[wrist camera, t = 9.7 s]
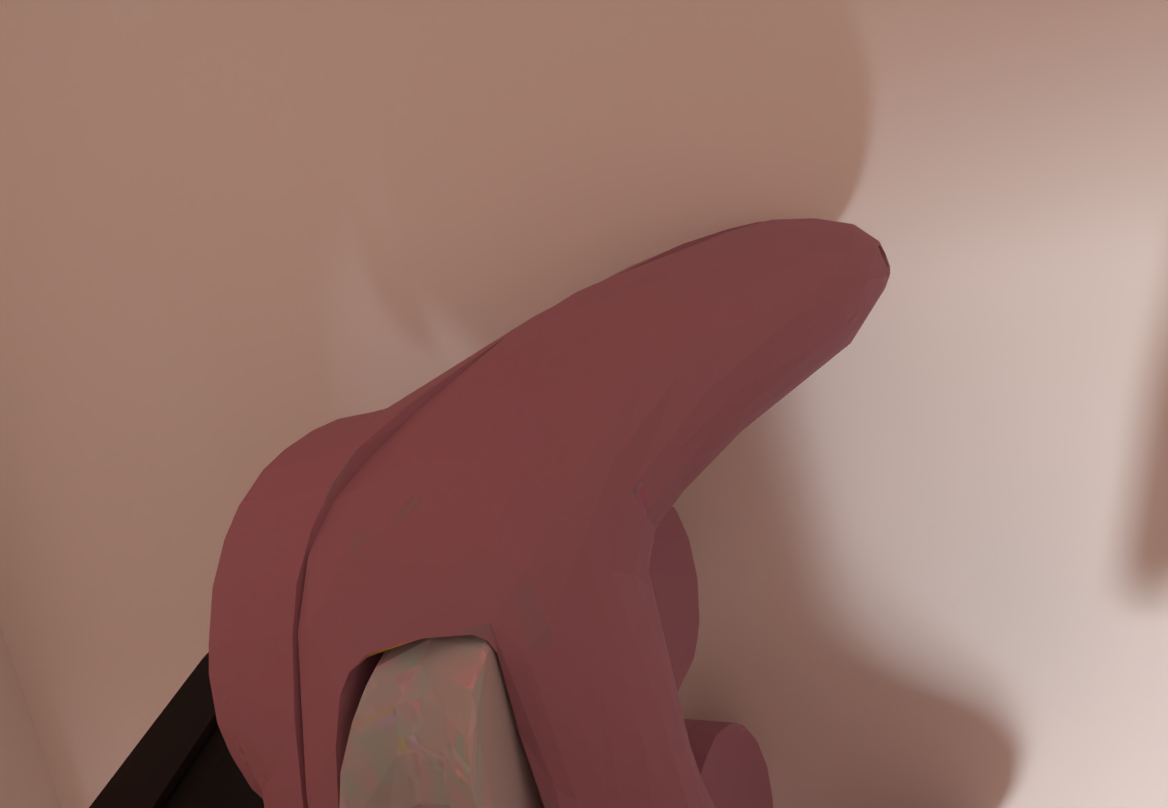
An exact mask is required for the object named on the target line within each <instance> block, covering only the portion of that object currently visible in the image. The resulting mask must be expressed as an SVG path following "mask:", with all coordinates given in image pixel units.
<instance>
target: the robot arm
mask: <svg viewBox="0 0 1168 808" xmlns="http://www.w3.org/2000/svg"><path fill="white" fill-rule="evenodd" d="M89 808H264V802H263V799H262V798H261V797H260V796H259V795H258V794H257V793H256V792H254V791H253V790H252V788H251V787H250V785H249V784H248V782H247V780H246V779H245V777H244V775H243V774H242V772H241V771H240V769H239V767H238V766H237V764H236V763H235V761H234V759H233V758H232V756H231V754H230V752H229V750H228V747H227V745H226V743H225V740H224V738H223V736H222V733H221V731H220V729H219V726H218V724H217V718H216V713H215V707H214V701H213V696H212V690H211V684H210V678H209V652H208V653H207V654H206V655H205V656H204V657H203V659H202V660H201V661H200V663H199V664H198V665H197V666H196V668H195V669H194V670H193V672H192V673H191V674H190V676H189V677H188V678H187V680H186V681H185V682H184V684H183V685H182V686H181V687H180V689H179V690H178V691H177V693H176V694H175V695H174V697H173V698H172V699H171V701H170V702H169V703H168V705H167V706H166V707H165V708H164V710H163V711H162V712H161V714H160V715H159V716H158V718H157V719H156V720H155V722H154V723H153V724H152V726H151V727H150V728H149V729H148V731H147V732H146V733H145V735H144V736H143V737H142V739H141V740H140V741H139V743H138V744H137V745H136V747H135V748H134V749H133V750H132V752H131V753H130V754H129V756H128V757H127V758H126V760H125V761H124V762H123V764H122V765H121V766H120V768H119V769H118V770H117V771H116V773H115V774H114V775H113V777H112V778H111V779H110V781H109V782H108V783H107V785H106V786H105V787H104V789H103V790H102V791H101V792H100V794H99V795H98V796H97V798H96V799H95V800H94V802H93V803H92V804H91V806H90V807H89Z"/></svg>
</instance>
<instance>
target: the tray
mask: <svg viewBox="0 0 1168 808" xmlns="http://www.w3.org/2000/svg"><path fill="white" fill-rule="evenodd" d="M806 218H815V219H823V220H830V221H837V222H843V223H850V224H854V225H856V226H857V227H859V228H860V229H862V230H863V231H865V232H866V233H868V234H869V235H871V236H872V237H874V238H875V239H877V240H878V241H880V244H881V246H882V248H883V250H884V252H885V254H886V257H887V259H888V262H889V265H890V276H889V279H888V282H887V285H886V288H885V290H884V291H883V293H882V294H881V296H880V298H879V299H878V301H877V302H876V304H875V306H874V307H873V309H872V310H871V312H870V313H869V315H868V317H867V318H866V320H865V321H864V323H863V325H862V326H861V328H860V329H859V331H858V333H857V334H856V336H855V337H854V339H853V341H852V342H851V343H850V344H849V345H848V346H847V347H846V348H844V349H843V350H842V351H841V352H839V353H838V354H837V355H836V356H834V357H833V358H832V359H831V360H829V361H828V362H827V363H826V364H824V365H823V366H822V367H821V368H819V369H818V370H817V371H816V372H814V373H813V374H812V375H811V376H809V377H808V378H807V379H806V380H805V381H803V382H802V383H801V384H800V385H798V386H797V387H796V388H795V389H793V390H792V391H791V392H790V393H788V394H787V395H786V396H785V397H783V398H782V399H781V400H780V401H778V402H777V403H776V404H775V405H773V406H772V407H771V408H770V409H769V410H767V411H766V412H765V413H764V414H762V415H761V416H760V417H759V418H757V419H756V420H755V421H754V422H752V423H751V424H750V425H749V426H747V427H746V428H745V429H744V430H742V431H741V432H740V433H739V434H738V435H737V436H736V437H735V438H734V439H733V440H732V442H731V443H730V444H729V445H728V446H727V447H726V448H725V449H724V450H723V451H722V452H721V453H720V454H719V455H718V456H717V457H716V458H715V459H714V460H713V461H712V462H711V463H710V464H709V465H708V466H707V467H706V468H705V469H704V470H703V471H702V473H701V474H700V475H699V476H698V477H697V478H696V479H695V480H694V481H693V482H692V483H691V484H690V485H689V486H688V487H687V488H686V489H685V490H684V491H683V493H682V494H681V495H680V497H679V498H678V499H677V501H676V502H675V503H674V505H673V507H674V508H675V510H676V511H677V513H678V515H679V518H680V520H681V522H682V524H683V527H684V529H685V531H686V533H687V536H688V538H689V542H690V546H691V551H692V556H693V560H694V565H695V569H696V574H697V582H698V600H699V618H700V619H699V629H698V640H697V645H696V650H695V655H694V659H693V661H692V663H691V666H690V668H689V670H688V672H687V674H686V676H685V678H684V680H683V683H682V685H681V687H680V689H679V691H678V696H679V700H680V705H681V709H682V713H683V717H684V719H694V720H707V721H719V722H734V723H738V724H741V725H744V726H745V727H746V728H747V729H748V730H749V731H750V733H751V734H752V735H753V737H754V738H755V739H756V740H757V742H758V744H759V747H760V749H761V752H762V755H763V757H764V760H765V762H766V765H767V768H768V774H769V780H770V786H771V792H772V798H773V808H1168V0H0V808H89V807H90V806H91V804H92V803H93V802H94V800H95V799H96V798H97V796H98V795H99V794H100V792H101V791H102V790H103V789H104V787H105V786H106V785H107V783H108V782H109V781H110V779H111V778H112V777H113V775H114V774H115V773H116V771H117V770H118V769H119V768H120V766H121V765H122V764H123V762H124V761H125V760H126V758H127V757H128V756H129V754H130V753H131V752H132V750H133V749H134V748H135V747H136V745H137V744H138V743H139V741H140V740H141V739H142V737H143V736H144V735H145V733H146V732H147V731H148V729H149V728H150V727H151V726H152V724H153V723H154V722H155V720H156V719H157V718H158V716H159V715H160V714H161V712H162V711H163V710H164V708H165V707H166V706H167V705H168V703H169V702H170V701H171V699H172V698H173V697H174V695H175V694H176V693H177V691H178V690H179V689H180V687H181V686H182V685H183V684H184V682H185V681H186V680H187V678H188V677H189V676H190V674H191V673H192V672H193V670H194V669H195V668H196V666H197V665H198V664H199V663H200V661H201V660H202V659H203V657H204V656H205V655H206V654H207V653H208V652H209V632H210V617H211V603H212V588H213V584H214V580H215V576H216V572H217V568H218V564H219V559H220V555H221V551H222V547H223V543H224V539H225V537H226V535H227V532H228V530H229V528H230V525H231V523H232V521H233V518H234V516H235V514H236V511H237V509H238V507H239V505H240V503H241V502H242V500H243V499H244V497H245V496H246V494H247V493H248V491H249V490H250V488H251V487H252V485H253V484H254V482H255V481H256V480H257V478H258V477H259V475H260V474H261V472H262V471H263V469H264V468H266V467H267V466H268V465H269V464H270V463H271V462H272V461H273V460H274V459H275V458H276V457H277V456H278V455H279V454H280V453H281V452H282V451H283V450H285V449H286V448H288V447H289V446H291V445H292V444H293V443H295V442H296V441H298V440H299V439H301V438H302V437H304V436H305V435H307V434H308V433H310V432H311V431H312V430H315V429H317V428H319V427H321V426H324V425H326V424H328V423H330V422H332V421H335V420H337V419H340V418H345V417H350V416H355V415H360V414H365V413H370V412H374V411H378V410H382V409H386V408H388V407H390V406H391V405H393V404H395V403H396V402H398V401H399V400H401V399H403V398H404V397H406V396H407V395H409V394H411V393H412V392H414V391H415V390H417V389H419V388H420V387H422V386H423V385H425V384H427V383H428V382H430V381H431V380H433V379H435V378H436V377H438V376H439V375H441V374H443V373H444V372H446V371H447V370H449V369H451V368H452V367H454V366H455V365H457V364H459V363H460V362H462V361H463V360H465V359H467V358H468V357H470V356H471V355H473V354H475V353H476V352H478V351H479V350H481V349H483V348H484V347H486V346H487V345H489V344H491V343H492V342H494V341H495V340H497V339H499V338H500V337H502V336H503V335H505V334H507V333H508V332H510V331H511V330H513V329H515V328H516V327H518V326H519V325H521V324H523V323H524V322H526V321H527V320H529V319H531V318H532V317H534V316H536V315H538V314H539V313H541V312H543V311H545V310H547V309H549V308H551V307H553V306H555V305H556V304H558V303H560V302H561V301H563V300H564V299H566V298H568V297H569V296H571V295H572V294H574V293H576V292H578V291H580V290H582V289H584V288H587V287H589V286H591V285H594V284H596V283H599V282H601V281H603V280H605V279H607V278H608V277H610V276H612V275H614V274H616V273H618V272H620V271H622V270H624V269H626V268H628V267H630V266H632V265H635V264H637V263H639V262H642V261H644V260H646V259H649V258H651V257H653V256H656V255H658V254H660V253H663V252H665V251H668V250H670V249H672V248H675V247H677V246H679V245H682V244H684V243H687V242H690V241H693V240H696V239H699V238H702V237H705V236H708V235H711V234H714V233H717V232H720V231H723V230H726V229H730V228H734V227H739V226H743V225H747V224H751V223H756V222H765V221H769V220H778V219H806Z"/></svg>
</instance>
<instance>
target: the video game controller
mask: <svg viewBox="0 0 1168 808" xmlns="http://www.w3.org/2000/svg"><path fill="white" fill-rule="evenodd" d="M889 276H890V265H889V262H888V259H887V257H886V254H885V252H884V250H883V248H882V246H881V244H880V241H878V240H877V239H875V238H874V237H872V236H871V235H869V234H868V233H866V232H865V231H863V230H862V229H860V228H859V227H857V226H856V225H854V224H850V223H843V222H837V221H830V220H823V219H815V218H806V219H778V220H769V221H765V222H756V223H751V224H747V225H743V226H739V227H734V228H730V229H726V230H723V231H720V232H717V233H714V234H711V235H708V236H705V237H702V238H699V239H696V240H693V241H690V242H687V243H684V244H682V245H679V246H677V247H675V248H672V249H670V250H668V251H665V252H663V253H660V254H658V255H656V256H653V257H651V258H649V259H646V260H644V261H642V262H639V263H637V264H635V265H632V266H630V267H628V268H626V269H624V270H622V271H620V272H618V273H616V274H614V275H612V276H610V277H608V278H607V279H605V280H603V281H601V282H599V283H596V284H594V285H591V286H589V287H587V288H584V289H582V290H580V291H578V292H576V293H574V294H572V295H571V296H569V297H568V298H566V299H564V300H563V301H561V302H560V303H558V304H556V305H555V306H553V307H551V308H549V309H547V310H545V311H543V312H541V313H539V314H538V315H536V316H534V317H532V318H531V319H529V320H527V321H526V322H524V323H523V324H521V325H519V326H518V327H516V328H515V329H513V330H511V331H510V332H508V333H507V334H505V335H503V336H502V337H500V338H499V339H497V340H495V341H494V342H492V343H491V344H489V345H487V346H486V347H484V348H483V349H481V350H479V351H478V352H476V353H475V354H473V355H471V356H470V357H468V358H467V359H465V360H463V361H462V362H460V363H459V364H457V365H455V366H454V367H452V368H451V369H449V370H447V371H446V372H444V373H443V374H441V375H439V376H438V377H436V378H435V379H433V380H431V381H430V382H428V383H427V384H425V385H423V386H422V387H420V388H419V389H417V390H415V391H414V392H412V393H411V394H409V395H407V396H406V397H404V398H403V399H401V400H399V401H398V402H396V403H395V404H393V405H391V406H390V407H388V408H386V409H382V410H378V411H374V412H370V413H365V414H360V415H355V416H350V417H345V418H340V419H337V420H335V421H332V422H330V423H328V424H326V425H324V426H321V427H319V428H317V429H315V430H312V431H311V432H310V433H308V434H307V435H305V436H304V437H302V438H301V439H299V440H298V441H296V442H295V443H293V444H292V445H291V446H289V447H288V448H286V449H285V450H283V451H282V452H281V453H280V454H279V455H278V456H277V457H276V458H275V459H274V460H273V461H272V462H271V463H270V464H269V465H268V466H267V467H266V468H264V469H263V471H262V472H261V474H260V475H259V477H258V478H257V480H256V481H255V482H254V484H253V485H252V487H251V488H250V490H249V491H248V493H247V494H246V496H245V497H244V499H243V500H242V502H241V503H240V505H239V507H238V509H237V511H236V514H235V516H234V518H233V521H232V523H231V525H230V528H229V530H228V532H227V535H226V537H225V539H224V543H223V547H222V551H221V555H220V559H219V564H218V568H217V572H216V576H215V580H214V584H213V588H212V603H211V617H210V632H209V678H210V684H211V690H212V696H213V701H214V707H215V713H216V718H217V724H218V726H219V729H220V731H221V733H222V736H223V738H224V740H225V743H226V745H227V747H228V750H229V752H230V754H231V756H232V758H233V759H234V761H235V763H236V764H237V766H238V767H239V769H240V771H241V772H242V774H243V775H244V777H245V779H246V780H247V782H248V784H249V785H250V787H251V788H252V790H253V791H254V792H256V793H257V794H258V795H259V796H260V797H261V798H262V799H263V802H264V808H773V798H772V792H771V786H770V780H769V774H768V768H767V765H766V762H765V760H764V757H763V755H762V752H761V749H760V747H759V744H758V742H757V740H756V739H755V738H754V737H753V735H752V734H751V733H750V731H749V730H748V729H747V728H746V727H745V726H744V725H741V724H738V723H734V722H719V721H707V720H694V719H684V717H683V713H682V709H681V705H680V700H679V696H678V691H679V689H680V687H681V685H682V683H683V680H684V678H685V676H686V674H687V672H688V670H689V668H690V666H691V663H692V661H693V659H694V655H695V650H696V645H697V640H698V629H699V619H700V618H699V600H698V582H697V574H696V569H695V565H694V560H693V556H692V551H691V546H690V542H689V538H688V536H687V533H686V531H685V529H684V527H683V524H682V522H681V520H680V518H679V515H678V513H677V511H676V510H675V508H674V507H673V505H674V503H675V502H676V501H677V499H678V498H679V497H680V495H681V494H682V493H683V491H684V490H685V489H686V488H687V487H688V486H689V485H690V484H691V483H692V482H693V481H694V480H695V479H696V478H697V477H698V476H699V475H700V474H701V473H702V471H703V470H704V469H705V468H706V467H707V466H708V465H709V464H710V463H711V462H712V461H713V460H714V459H715V458H716V457H717V456H718V455H719V454H720V453H721V452H722V451H723V450H724V449H725V448H726V447H727V446H728V445H729V444H730V443H731V442H732V440H733V439H734V438H735V437H736V436H737V435H738V434H739V433H740V432H741V431H742V430H744V429H745V428H746V427H747V426H749V425H750V424H751V423H752V422H754V421H755V420H756V419H757V418H759V417H760V416H761V415H762V414H764V413H765V412H766V411H767V410H769V409H770V408H771V407H772V406H773V405H775V404H776V403H777V402H778V401H780V400H781V399H782V398H783V397H785V396H786V395H787V394H788V393H790V392H791V391H792V390H793V389H795V388H796V387H797V386H798V385H800V384H801V383H802V382H803V381H805V380H806V379H807V378H808V377H809V376H811V375H812V374H813V373H814V372H816V371H817V370H818V369H819V368H821V367H822V366H823V365H824V364H826V363H827V362H828V361H829V360H831V359H832V358H833V357H834V356H836V355H837V354H838V353H839V352H841V351H842V350H843V349H844V348H846V347H847V346H848V345H849V344H850V343H851V342H852V341H853V339H854V337H855V336H856V334H857V333H858V331H859V329H860V328H861V326H862V325H863V323H864V321H865V320H866V318H867V317H868V315H869V313H870V312H871V310H872V309H873V307H874V306H875V304H876V302H877V301H878V299H879V298H880V296H881V294H882V293H883V291H884V290H885V288H886V285H887V282H888V279H889Z"/></svg>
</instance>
